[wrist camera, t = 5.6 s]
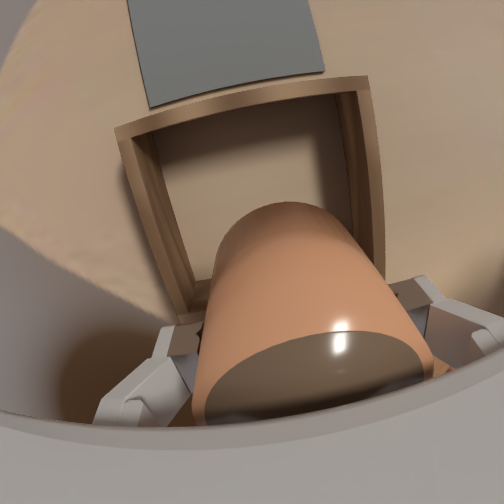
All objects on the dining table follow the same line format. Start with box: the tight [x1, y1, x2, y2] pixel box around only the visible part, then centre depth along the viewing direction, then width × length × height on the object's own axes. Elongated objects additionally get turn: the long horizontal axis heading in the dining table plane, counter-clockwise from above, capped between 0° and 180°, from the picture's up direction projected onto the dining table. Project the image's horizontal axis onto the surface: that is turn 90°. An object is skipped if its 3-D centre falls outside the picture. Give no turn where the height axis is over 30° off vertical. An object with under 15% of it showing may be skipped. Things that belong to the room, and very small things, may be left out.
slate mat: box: [128, 0, 325, 108], centre depth 19 cm, size 14×12×1 cm
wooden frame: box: [114, 76, 385, 324], centre depth 23 cm, size 17×16×5 cm
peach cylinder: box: [192, 202, 434, 426], centre depth 10 cm, size 6×6×7 cm
